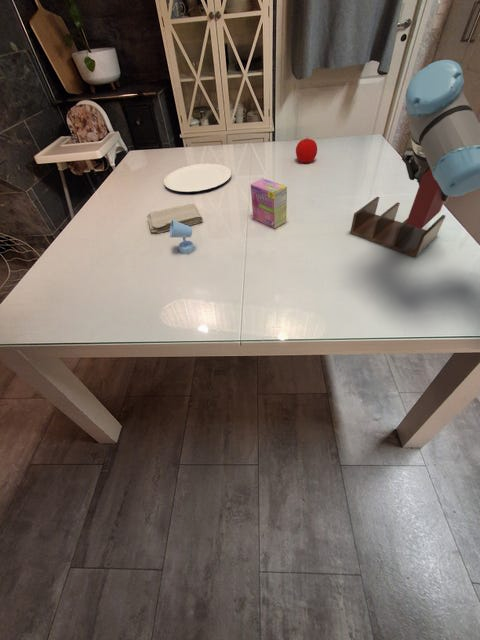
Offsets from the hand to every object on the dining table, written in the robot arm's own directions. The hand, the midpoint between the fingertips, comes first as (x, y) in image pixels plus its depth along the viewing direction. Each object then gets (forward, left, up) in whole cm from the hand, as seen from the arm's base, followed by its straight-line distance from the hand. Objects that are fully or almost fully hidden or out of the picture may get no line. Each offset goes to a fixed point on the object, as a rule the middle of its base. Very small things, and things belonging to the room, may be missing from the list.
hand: (436, 193), depth 77 cm
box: (+9, +44, -13) cm, 47 cm away
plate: (+43, +78, -13) cm, 90 cm away
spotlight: (-9, +68, -13) cm, 70 cm away
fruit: (+61, +33, -13) cm, 70 cm away
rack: (+1, +7, -13) cm, 15 cm away
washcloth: (+8, +77, -13) cm, 79 cm away
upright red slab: (-3, +2, -5) cm, 6 cm away
